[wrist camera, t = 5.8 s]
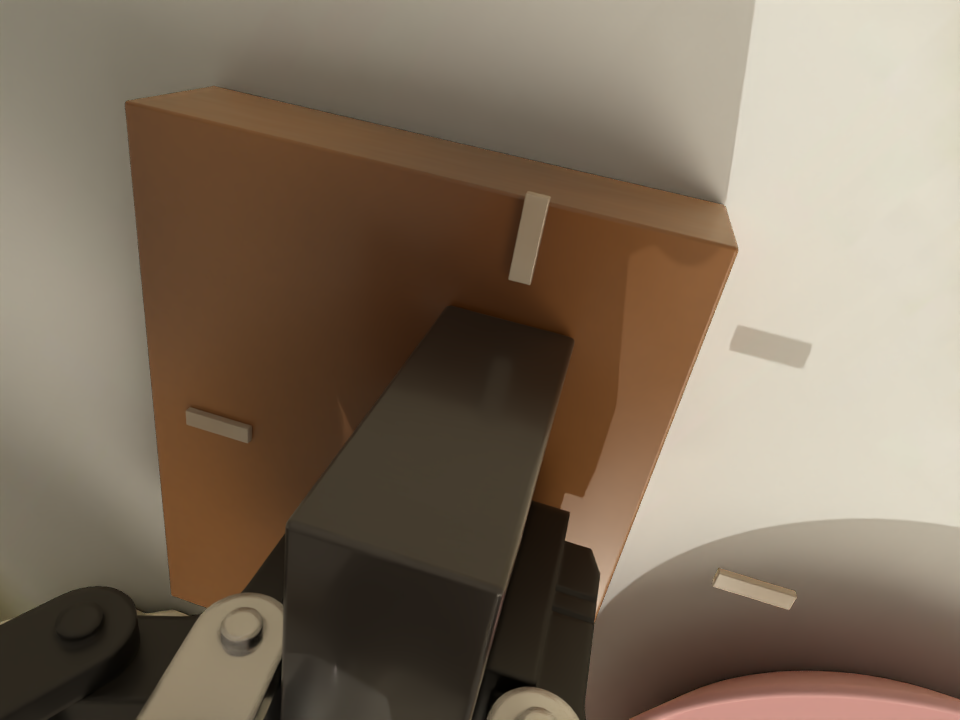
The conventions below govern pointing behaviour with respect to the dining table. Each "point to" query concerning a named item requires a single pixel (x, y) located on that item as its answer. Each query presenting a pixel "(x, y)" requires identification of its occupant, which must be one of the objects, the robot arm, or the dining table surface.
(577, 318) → the oak panel
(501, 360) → the bar knob
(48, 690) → the robot arm
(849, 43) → the dining table surface
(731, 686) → the plate
